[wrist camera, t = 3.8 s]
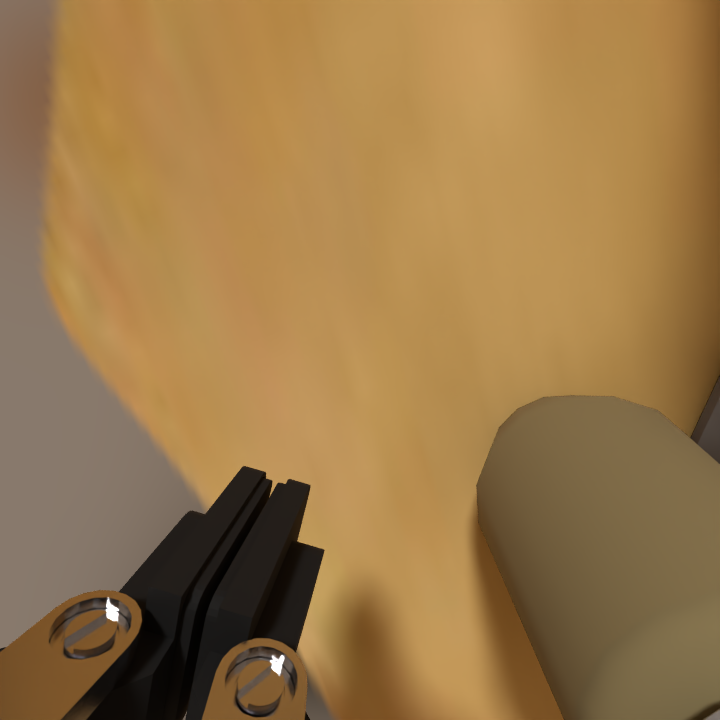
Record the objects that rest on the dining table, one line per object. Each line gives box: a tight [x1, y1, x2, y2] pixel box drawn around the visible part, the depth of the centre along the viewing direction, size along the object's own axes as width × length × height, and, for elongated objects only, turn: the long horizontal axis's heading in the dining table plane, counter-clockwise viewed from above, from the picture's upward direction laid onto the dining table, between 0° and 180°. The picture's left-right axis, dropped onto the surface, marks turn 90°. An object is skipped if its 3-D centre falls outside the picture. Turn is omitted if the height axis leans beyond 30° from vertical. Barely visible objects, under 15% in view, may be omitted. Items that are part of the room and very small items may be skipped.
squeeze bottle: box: [476, 395, 720, 720], centre depth 11 cm, size 8×8×18 cm
